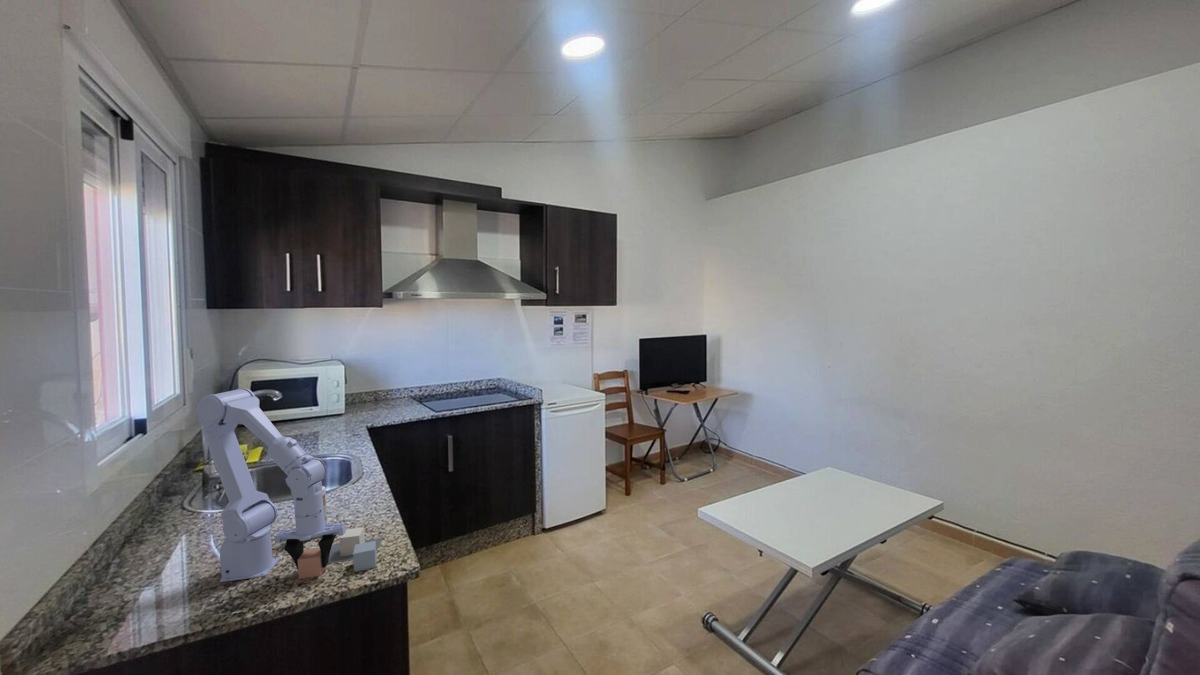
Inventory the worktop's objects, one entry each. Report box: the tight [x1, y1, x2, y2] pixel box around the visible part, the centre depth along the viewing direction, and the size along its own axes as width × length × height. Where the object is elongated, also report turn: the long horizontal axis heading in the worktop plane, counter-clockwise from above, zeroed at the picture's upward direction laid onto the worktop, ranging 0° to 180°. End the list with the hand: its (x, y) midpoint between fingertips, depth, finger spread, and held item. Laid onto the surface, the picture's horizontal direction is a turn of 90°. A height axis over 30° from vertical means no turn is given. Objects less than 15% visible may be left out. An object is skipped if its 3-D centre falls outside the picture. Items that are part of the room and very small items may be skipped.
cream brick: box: [338, 527, 366, 556], centre depth 119 cm, size 5×5×5 cm
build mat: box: [328, 537, 383, 564], centre depth 120 cm, size 12×10×1 cm
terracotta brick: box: [297, 547, 328, 580], centre depth 110 cm, size 5×5×5 cm
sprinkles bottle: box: [312, 485, 328, 539], centre depth 128 cm, size 5×5×13 cm
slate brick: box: [352, 541, 378, 572], centre depth 113 cm, size 5×5×5 cm
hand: (313, 567), depth 110 cm, fingers closed on terracotta brick, 5 cm apart
